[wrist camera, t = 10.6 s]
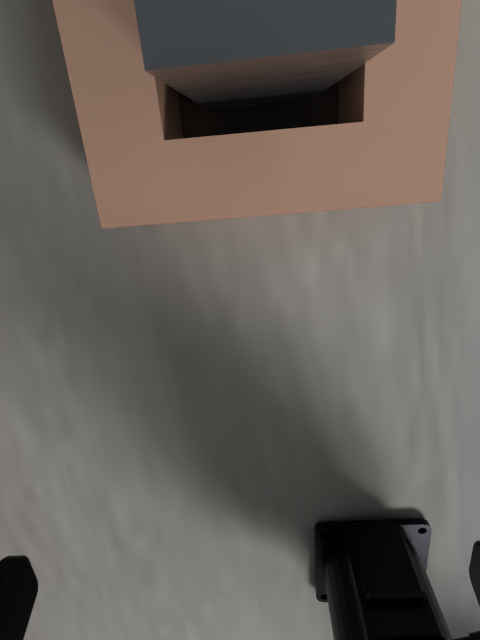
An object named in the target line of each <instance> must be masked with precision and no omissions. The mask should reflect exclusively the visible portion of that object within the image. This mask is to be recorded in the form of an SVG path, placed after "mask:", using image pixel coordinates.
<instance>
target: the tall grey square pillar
mask: <svg viewBox="0 0 480 640" xmlns="http://www.w3.org/2000/svg"><path fill="white" fill-rule="evenodd" d="M134 5H135V12H136V18H137V24H138V31H139V37H140V43H141V50H142V56H143V62H144V69H145V71H146V72H148V73H149V74H151V75H152V76H154V77H156V78H157V79H159V80H161V81H162V82H164V83H165V84H167V85H169V86H170V87H172V88H173V89H175V90H177V91H178V92H180V93H182V94H183V95H185V96H186V97H188V98H190V99H191V100H193V101H194V102H196V103H198V104H199V105H201V106H203V107H204V108H206V109H207V110H209V109H218V108H228V107H237V106H247V105H256V104H266V103H275V102H285V101H294V100H303V99H313V98H314V97H316V96H317V95H319V94H320V93H322V92H323V91H325V90H326V89H328V88H329V87H330V86H332V85H333V84H335V83H336V82H338V81H339V80H341V79H342V78H344V77H345V76H347V75H348V74H349V73H351V72H352V71H354V70H355V69H357V68H358V67H360V66H361V65H363V64H364V63H366V62H367V61H369V60H370V59H371V58H373V57H374V56H376V55H377V54H379V53H380V52H382V51H383V50H385V49H386V48H388V47H389V46H390V45H392V44H393V43H395V29H396V7H397V0H134Z"/></svg>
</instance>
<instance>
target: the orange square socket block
mask: <svg viewBox="0 0 480 640" xmlns="http://www.w3.org/2000/svg"><path fill="white" fill-rule="evenodd" d="M52 1H53V6H54V10H55V15H56V20H57V24H58V29H59V34H60V38H61V43H62V48H63V52H64V57H65V62H66V66H67V71H68V75H69V80H70V85H71V89H72V94H73V99H74V103H75V108H76V113H77V117H78V122H79V127H80V131H81V136H82V140H83V145H84V150H85V154H86V159H87V164H88V168H89V173H90V178H91V182H92V187H93V192H94V196H95V201H96V205H97V210H98V215H99V219H100V224H101V229H107V228H119V227H131V226H144V225H156V224H168V223H181V222H193V221H205V220H218V219H230V218H242V217H255V216H267V215H279V214H292V213H304V212H316V211H329V210H341V209H353V208H366V207H378V206H390V205H403V204H415V203H427V202H440V201H441V198H442V188H443V179H444V169H445V159H446V149H447V140H448V130H449V120H450V110H451V101H452V91H453V81H454V71H455V62H456V52H457V42H458V32H459V23H460V13H461V3H462V0H397V7H396V29H395V43H393V44H392V45H390V46H389V47H388V48H386V49H385V50H383V51H382V52H380V53H379V54H377V55H376V56H374V57H373V58H371V59H370V60H369V61H367V62H366V63H364V64H363V65H361V66H360V67H358V68H357V69H355V70H354V71H352V72H351V73H349V74H348V75H347V76H345V77H344V78H342V79H341V80H339V109H338V124H333V125H322V126H312V127H301V128H290V129H280V130H269V131H258V132H248V133H237V134H226V135H216V136H205V137H194V138H184V136H183V128H182V120H181V112H180V105H179V97H178V91H177V90H175V89H173V88H172V87H170V86H169V85H167V84H165V83H164V82H162V81H161V80H159V79H157V78H156V77H154V76H152V75H151V74H149V73H148V72H146V71H145V69H144V62H143V56H142V50H141V43H140V37H139V31H138V24H137V18H136V12H135V5H134V0H52Z"/></svg>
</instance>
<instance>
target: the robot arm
mask: <svg viewBox="0 0 480 640" xmlns="http://www.w3.org/2000/svg"><path fill="white" fill-rule="evenodd" d="M430 537H431V527H430V525H429V523H428V521H427V520H425V519H393V520H365V521H336V522H320V523H318V524H316V525H315V528H314V539H315V588H316V597H317V599H318V600H319V601H321V602H328V605H329V611H330V617H331V623H332V630H333V636H334V640H480V631H477V632H472V633H469V635H470V636H466V637H462V638H458V639H452V636H451V634H450V631H449V629H448V626H447V624H446V621H445V619H444V616H443V614H442V611H441V609H440V606H439V604H438V601H437V599H436V596H435V594H434V591H433V589H432V586H431V583H430V581H429V578H428V576H427V573H426V566H427V559H428V551H429V544H430ZM469 575H470V580H471V583H472V586H473V589H474V592H475V594H476V597H477V600H478V603H479V606H480V541H476V542H475V543H474V546H473V551H472V556H471V561H470V567H469ZM37 592H38V580H37V578H36V575H35V573H34V570H33V568H32V566H31V563H30V561H29V559H28V557H26V556H24V555H20V556H7V557H5V558H3V559H2V560H1V561H0V640H23V639H24V635H25V632H26V629H27V626H28V622H29V619H30V616H31V612H32V609H33V606H34V602H35V599H36V596H37Z"/></svg>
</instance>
